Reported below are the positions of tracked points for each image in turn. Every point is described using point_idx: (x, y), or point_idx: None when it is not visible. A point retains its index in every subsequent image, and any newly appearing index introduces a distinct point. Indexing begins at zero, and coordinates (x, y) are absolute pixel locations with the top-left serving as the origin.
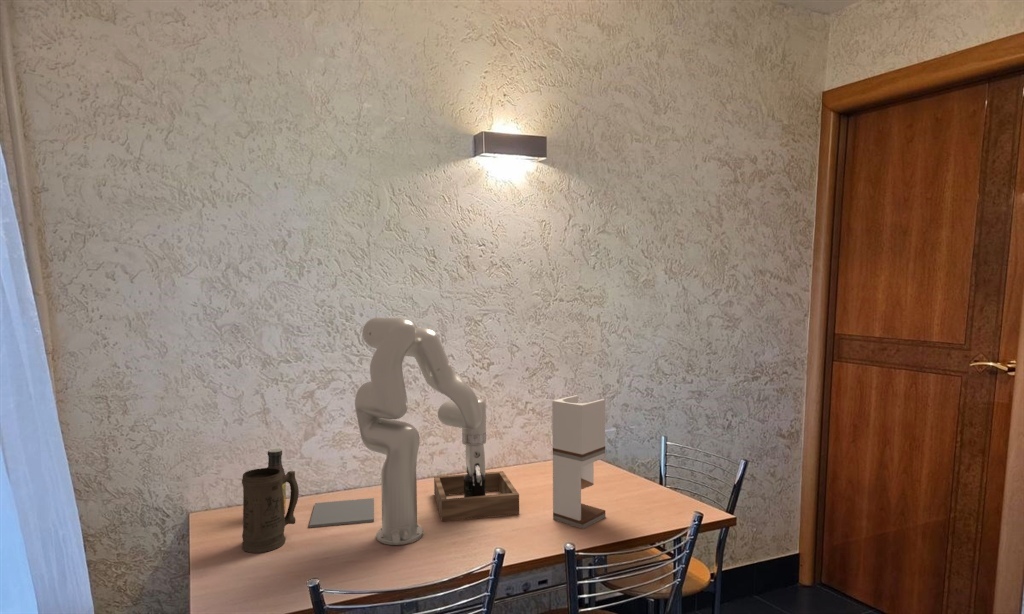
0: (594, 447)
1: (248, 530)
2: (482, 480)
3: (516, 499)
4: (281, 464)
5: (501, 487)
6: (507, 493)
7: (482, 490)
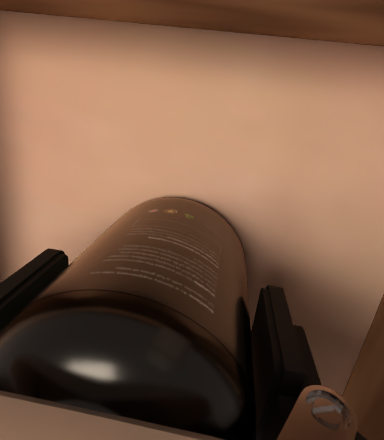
0: None
1: None
2: (238, 377)
3: None
4: None
5: None
6: (276, 4)
7: (240, 295)
